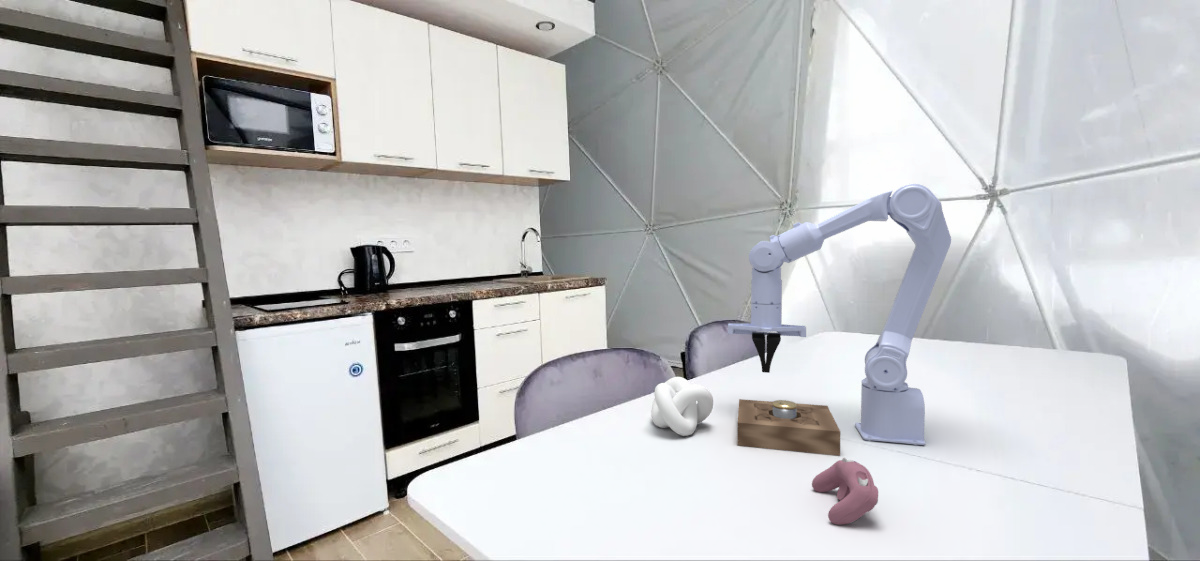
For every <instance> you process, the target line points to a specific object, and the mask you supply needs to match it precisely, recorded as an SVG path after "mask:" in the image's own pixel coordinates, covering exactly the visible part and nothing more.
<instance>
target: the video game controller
mask: <svg viewBox="0 0 1200 561" xmlns="http://www.w3.org/2000/svg"><path fill="white" fill-rule="evenodd" d="M811 487H812V489H813V490H814V491H815V492H818V493H826V492H831V491H834V490H836V489H837V488H838V489H837V493H836V498H837V499H838V500H839V501H838V502H836V503H835V504H834V505H832V507H830V509H829V510H828V513H827V516H828V520H829V521H830V522H831V523H832V524H834V525H839V526H840V525H841V526H842V525H848V524H852V523H853V522H855V521H857V520H859V519H860V518H862V517H863V516H864V515H865V514H866V513H868V512H871V511H872V510H873V509H874V508H875V507H876V506H877V505H878V503H879V488H878V487H877V486H876V485H875V482H874V478H873V475H872V474H871V472H870V471H869V469H868V468H867V467H866V466H865V465H863V464H862V463H859V462H857V461H855V460H853V459H847V458H846V457H842V459H839V460H837V461H835V463H833V464H832V465H831V466H830V467H828V468H827V469H825V470H823V471H822V472H820V473H818V474H816V475H815V477H814V478H813V479H812V481H811Z"/></svg>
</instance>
